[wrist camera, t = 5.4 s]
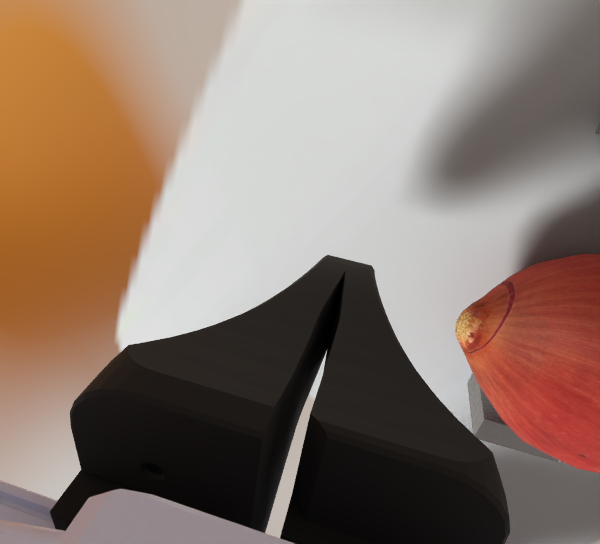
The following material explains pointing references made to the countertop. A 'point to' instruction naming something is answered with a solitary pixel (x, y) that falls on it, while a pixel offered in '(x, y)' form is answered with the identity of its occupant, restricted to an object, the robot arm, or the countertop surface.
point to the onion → (542, 355)
